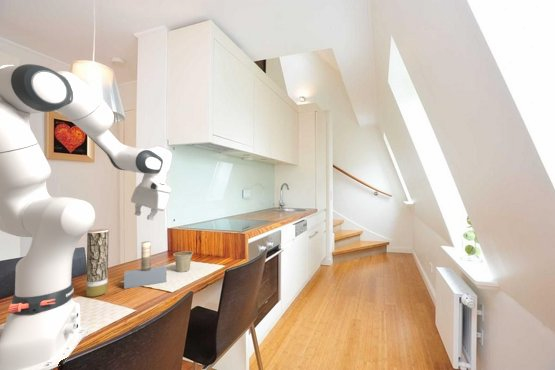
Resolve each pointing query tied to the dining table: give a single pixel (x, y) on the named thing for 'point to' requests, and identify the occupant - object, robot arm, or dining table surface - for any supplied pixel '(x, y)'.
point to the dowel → (146, 256)
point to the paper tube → (97, 262)
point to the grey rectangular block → (144, 277)
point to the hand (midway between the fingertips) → (143, 217)
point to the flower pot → (183, 260)
